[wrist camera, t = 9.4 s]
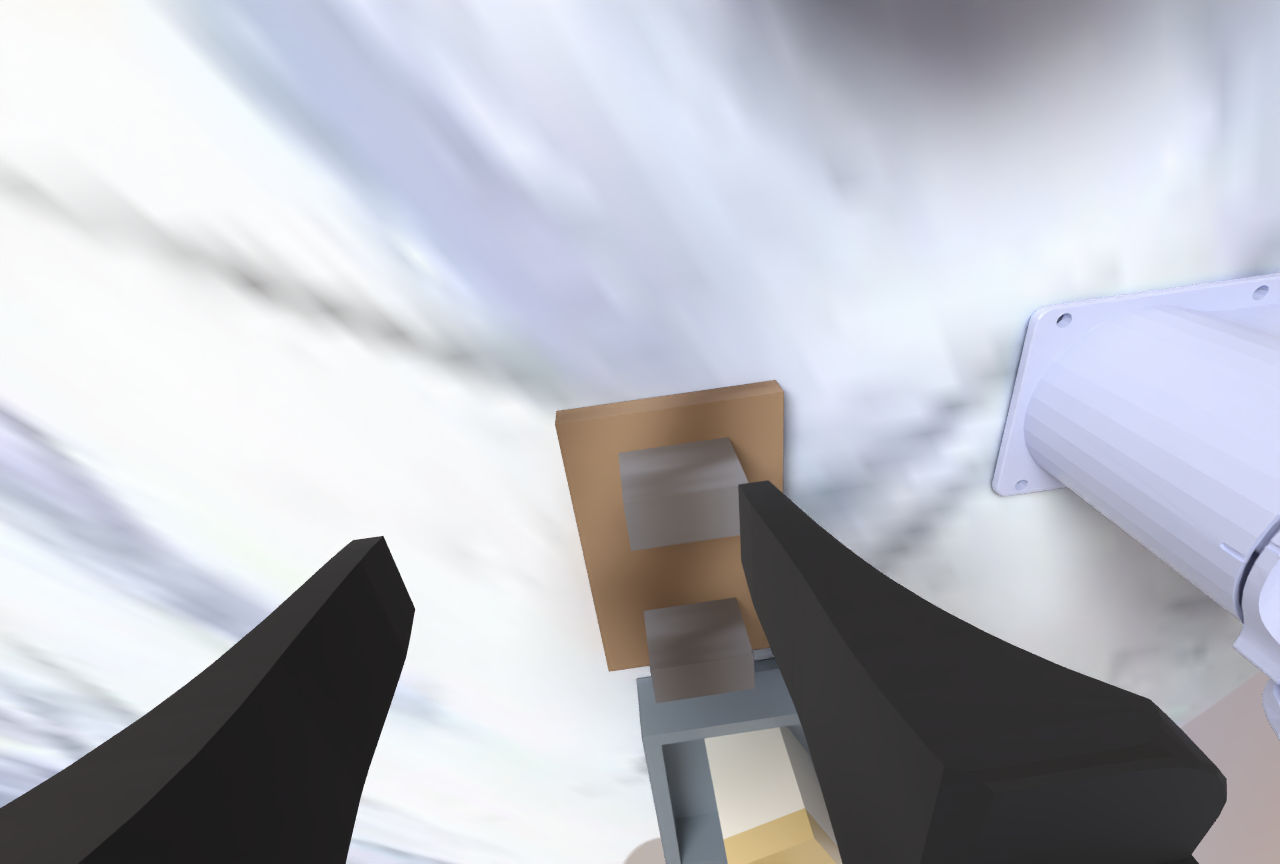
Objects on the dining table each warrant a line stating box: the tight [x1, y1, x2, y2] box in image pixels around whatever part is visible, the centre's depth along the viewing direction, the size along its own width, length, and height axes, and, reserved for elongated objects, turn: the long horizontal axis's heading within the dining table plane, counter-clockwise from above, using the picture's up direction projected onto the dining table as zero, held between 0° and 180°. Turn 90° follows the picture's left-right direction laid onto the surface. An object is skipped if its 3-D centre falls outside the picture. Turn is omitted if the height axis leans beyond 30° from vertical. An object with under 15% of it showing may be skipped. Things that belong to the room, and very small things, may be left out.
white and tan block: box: [704, 726, 842, 864], centre depth 28 cm, size 4×5×6 cm
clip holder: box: [555, 380, 784, 703], centre depth 22 cm, size 8×13×4 cm, turn 7°
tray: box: [637, 658, 819, 864], centre depth 30 cm, size 12×13×3 cm
